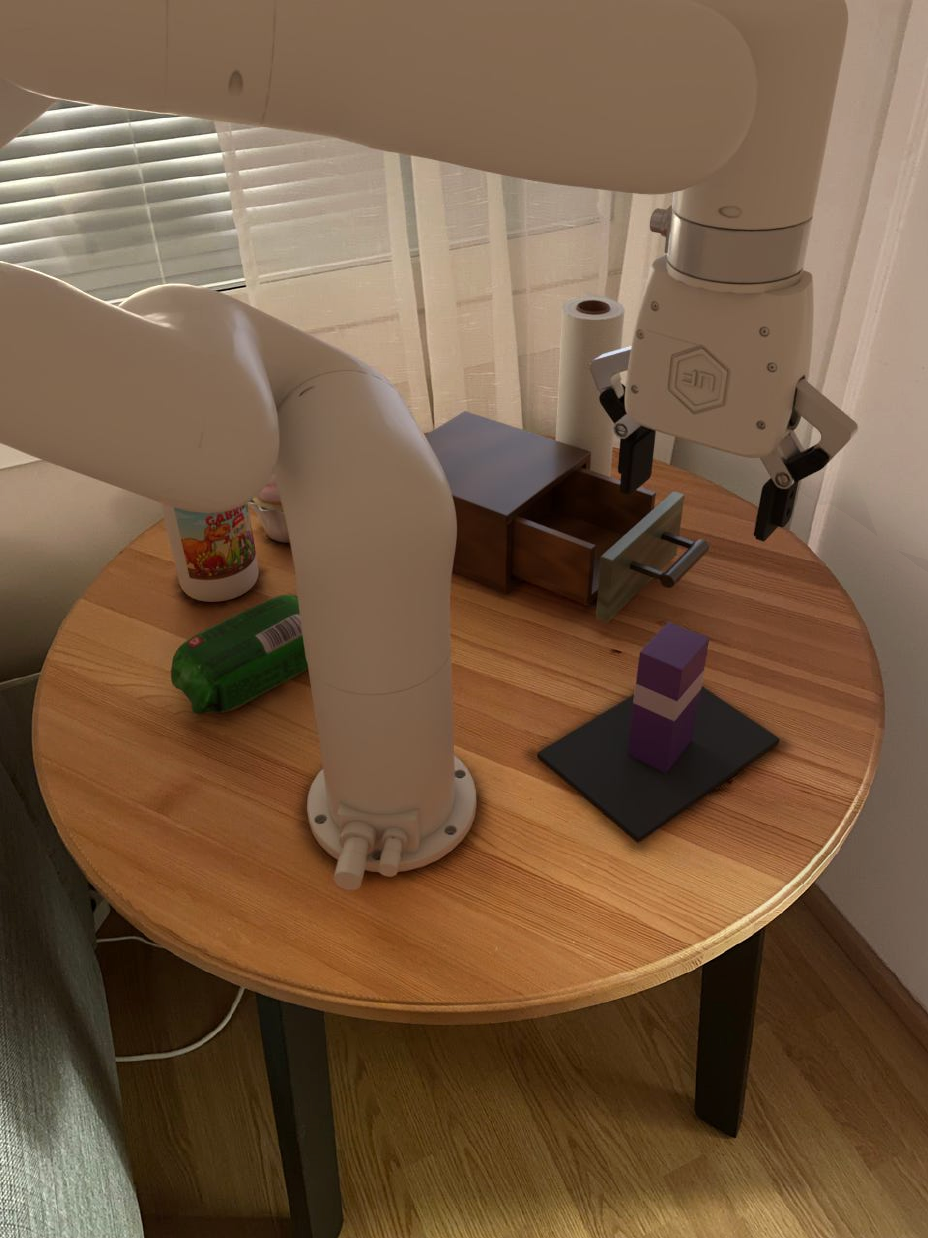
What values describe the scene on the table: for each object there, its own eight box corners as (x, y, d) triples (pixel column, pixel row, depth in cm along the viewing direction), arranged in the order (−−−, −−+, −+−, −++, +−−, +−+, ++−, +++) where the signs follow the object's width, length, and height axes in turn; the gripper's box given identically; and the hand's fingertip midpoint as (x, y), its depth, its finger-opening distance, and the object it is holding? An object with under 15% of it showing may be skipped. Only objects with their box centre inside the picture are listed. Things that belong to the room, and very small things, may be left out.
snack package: (359, 654, 90) (355, 607, 87) (205, 736, 82) (193, 688, 78) (314, 618, 94) (308, 572, 91) (163, 693, 86) (150, 646, 83)
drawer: (718, 569, 97) (728, 509, 93) (650, 641, 89) (659, 578, 85) (552, 509, 107) (555, 451, 102) (476, 569, 98) (476, 509, 94)
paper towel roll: (595, 515, 107) (610, 321, 94) (543, 502, 110) (551, 310, 96) (620, 485, 112) (638, 296, 99) (571, 472, 114) (582, 286, 101)
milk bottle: (166, 598, 97) (119, 408, 84) (201, 554, 102) (162, 370, 90) (240, 609, 95) (204, 416, 83) (271, 564, 101) (242, 377, 89)
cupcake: (244, 554, 102) (229, 468, 96) (256, 506, 110) (242, 423, 104) (336, 552, 102) (326, 465, 96) (342, 503, 110) (333, 420, 104)
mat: (638, 843, 72) (638, 838, 72) (536, 757, 79) (537, 752, 79) (779, 744, 80) (780, 738, 80) (675, 673, 87) (676, 668, 87)
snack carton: (653, 722, 81) (667, 620, 75) (692, 740, 80) (710, 637, 73) (626, 755, 79) (638, 651, 72) (666, 774, 77) (682, 670, 70)
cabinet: (586, 525, 106) (591, 451, 100) (505, 594, 96) (506, 515, 91) (466, 481, 113) (464, 410, 108) (380, 541, 104) (374, 466, 99)
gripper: (568, 235, 58) (558, 492, 68) (866, 296, 49) (802, 579, 60) (634, 203, 62) (615, 448, 73) (916, 254, 54) (848, 523, 64)
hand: (699, 507), depth 66 cm, fingers open, 9 cm apart
